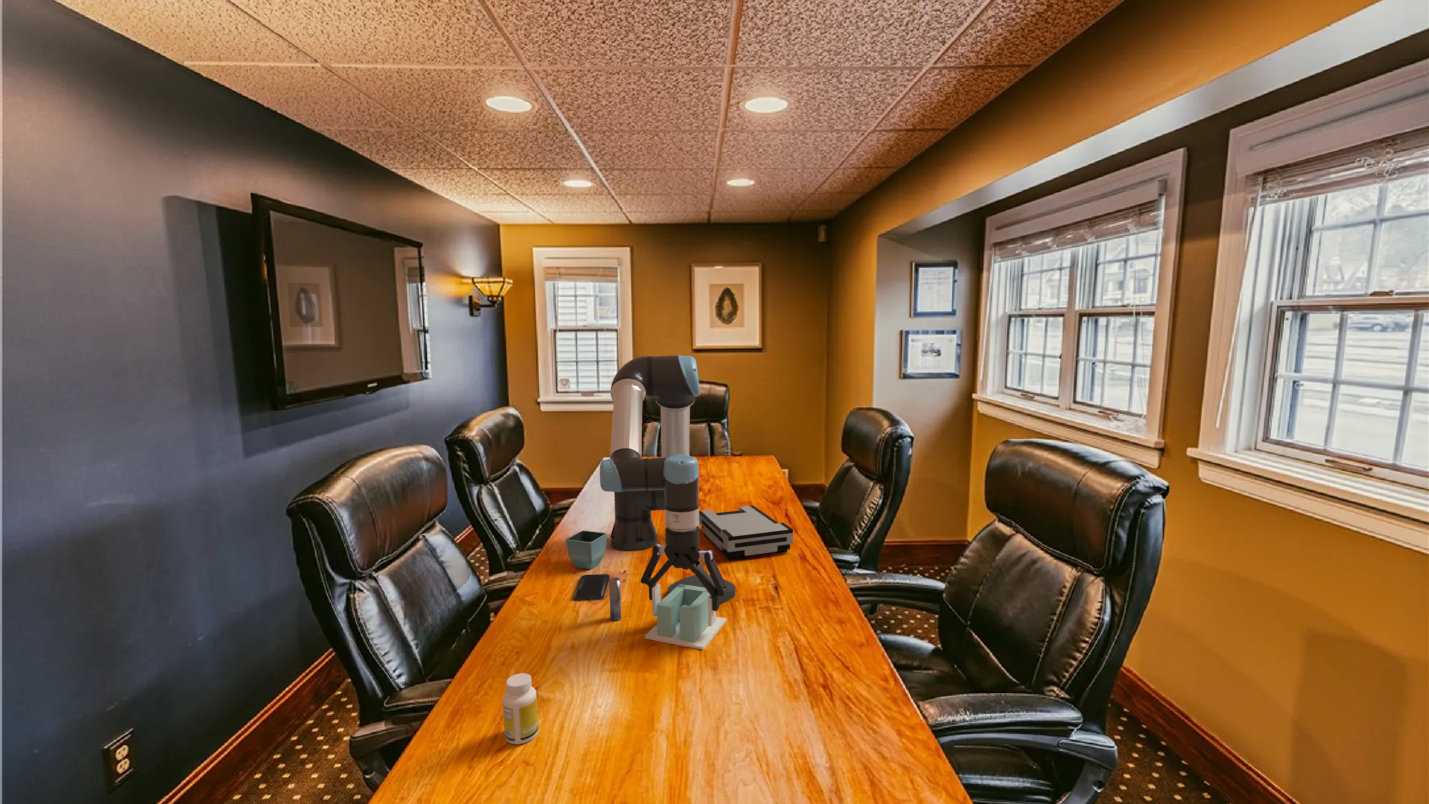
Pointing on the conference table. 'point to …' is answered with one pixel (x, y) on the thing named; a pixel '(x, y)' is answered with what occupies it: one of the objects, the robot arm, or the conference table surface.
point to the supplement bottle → (520, 709)
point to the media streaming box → (696, 582)
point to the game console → (745, 532)
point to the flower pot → (586, 548)
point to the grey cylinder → (615, 599)
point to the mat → (699, 643)
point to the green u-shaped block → (683, 612)
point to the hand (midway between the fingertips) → (683, 618)
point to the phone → (592, 587)
